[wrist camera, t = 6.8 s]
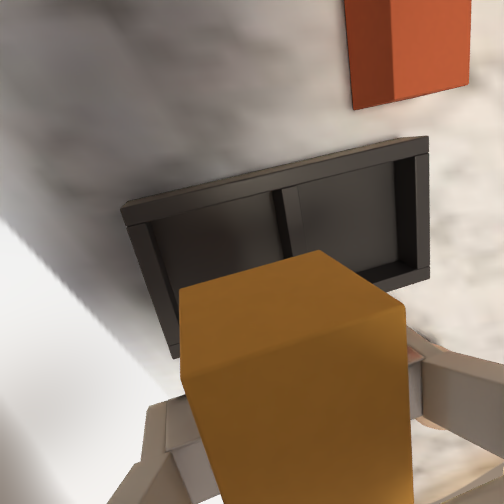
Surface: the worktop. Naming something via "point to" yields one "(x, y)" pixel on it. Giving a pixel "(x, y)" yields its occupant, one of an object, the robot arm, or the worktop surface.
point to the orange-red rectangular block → (406, 48)
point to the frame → (289, 222)
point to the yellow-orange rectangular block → (299, 384)
